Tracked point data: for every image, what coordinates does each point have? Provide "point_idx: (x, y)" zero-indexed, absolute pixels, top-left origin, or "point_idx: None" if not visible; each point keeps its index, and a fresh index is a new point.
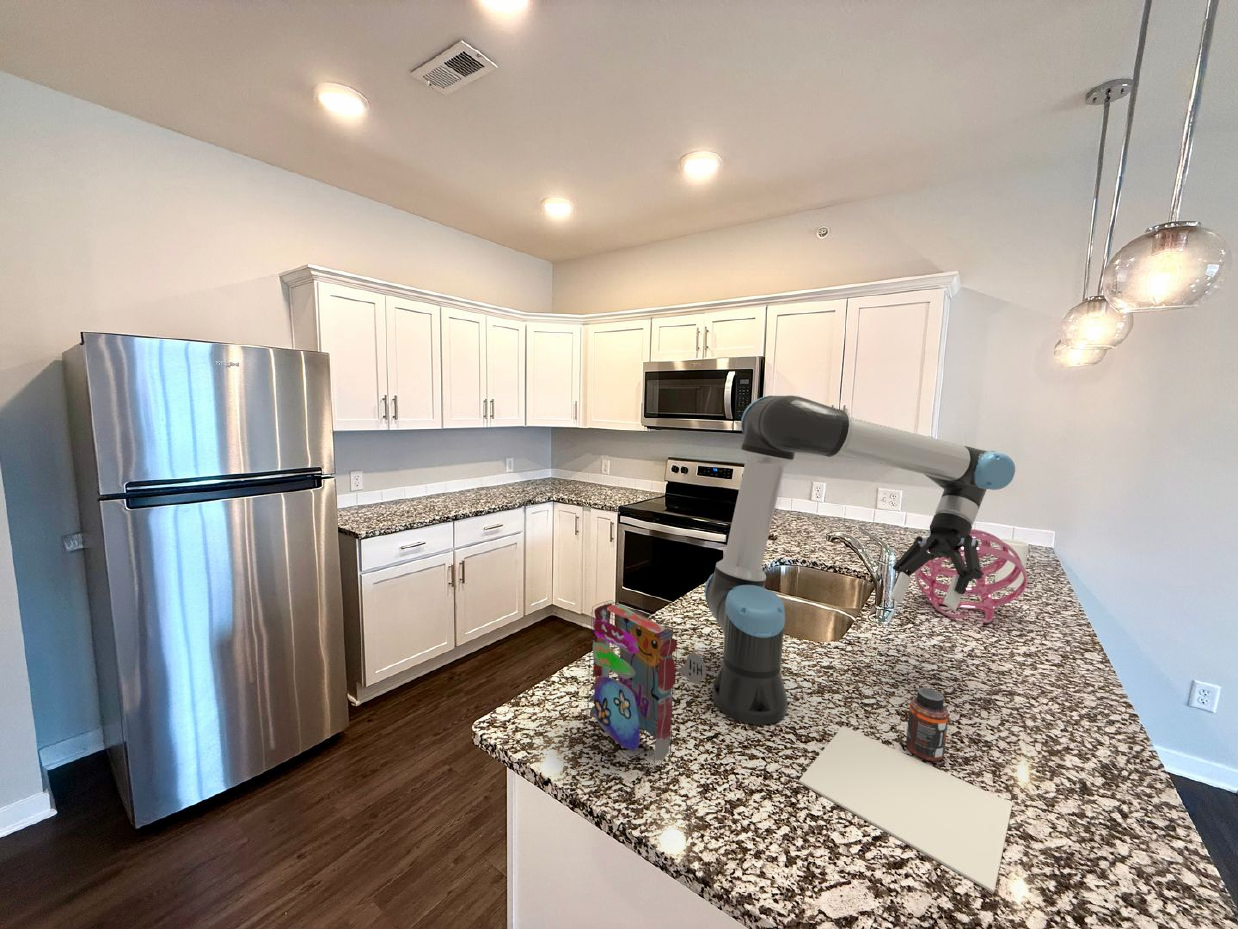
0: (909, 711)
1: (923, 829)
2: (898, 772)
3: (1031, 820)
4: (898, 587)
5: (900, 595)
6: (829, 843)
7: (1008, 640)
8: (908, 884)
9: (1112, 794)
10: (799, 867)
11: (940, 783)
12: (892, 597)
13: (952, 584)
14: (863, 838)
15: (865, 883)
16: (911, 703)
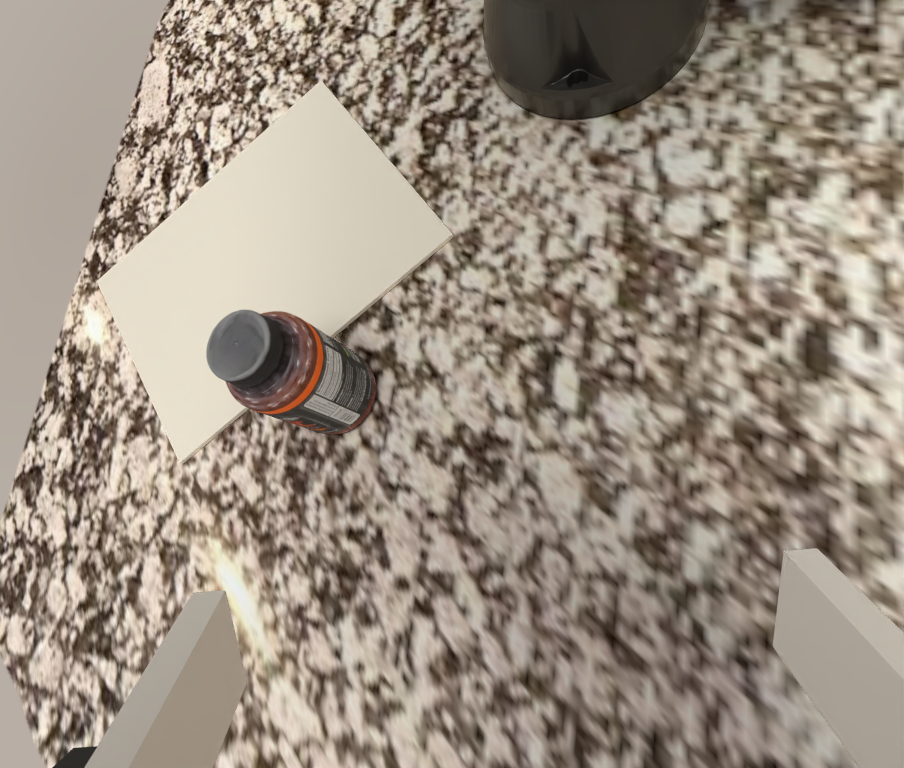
0: (310, 324)
1: (186, 244)
2: (293, 280)
3: (153, 468)
4: (863, 656)
5: (810, 653)
6: (216, 97)
7: None
8: (143, 177)
9: None
10: (200, 48)
11: None
12: (797, 558)
13: (94, 760)
14: (209, 149)
15: (160, 122)
16: (291, 315)
